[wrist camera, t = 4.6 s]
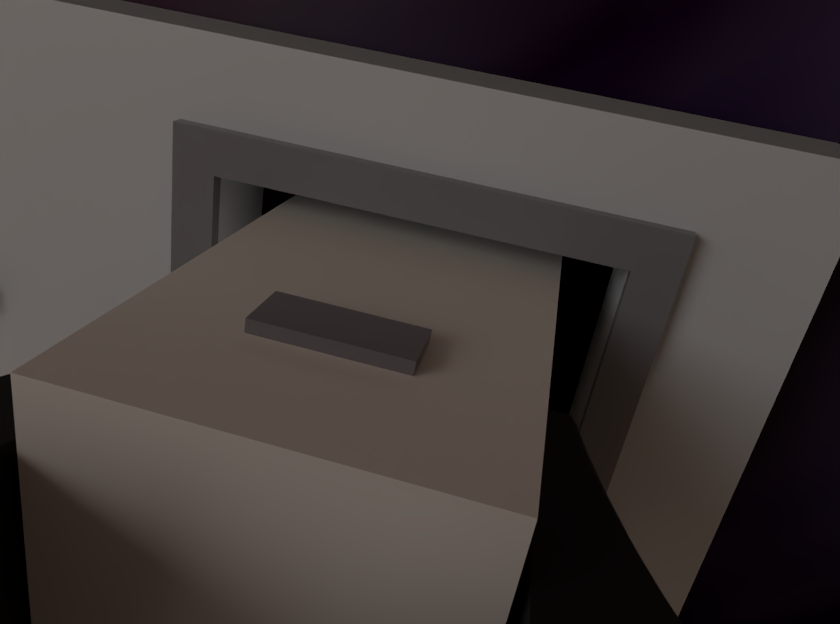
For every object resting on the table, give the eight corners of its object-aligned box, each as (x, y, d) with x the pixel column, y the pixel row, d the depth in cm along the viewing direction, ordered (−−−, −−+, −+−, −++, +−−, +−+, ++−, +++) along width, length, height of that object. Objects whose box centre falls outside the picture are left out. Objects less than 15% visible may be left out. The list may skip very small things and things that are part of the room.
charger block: (502, 474, 12) (434, 859, 6) (278, 413, 12) (39, 723, 7) (565, 242, 10) (542, 502, 5) (301, 182, 11) (8, 355, 5)
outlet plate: (604, 701, 14) (606, 787, 12) (-109, 482, 16) (-183, 533, 14) (837, 142, 9) (886, 170, 8) (-217, -67, 11) (-343, -78, 10)
